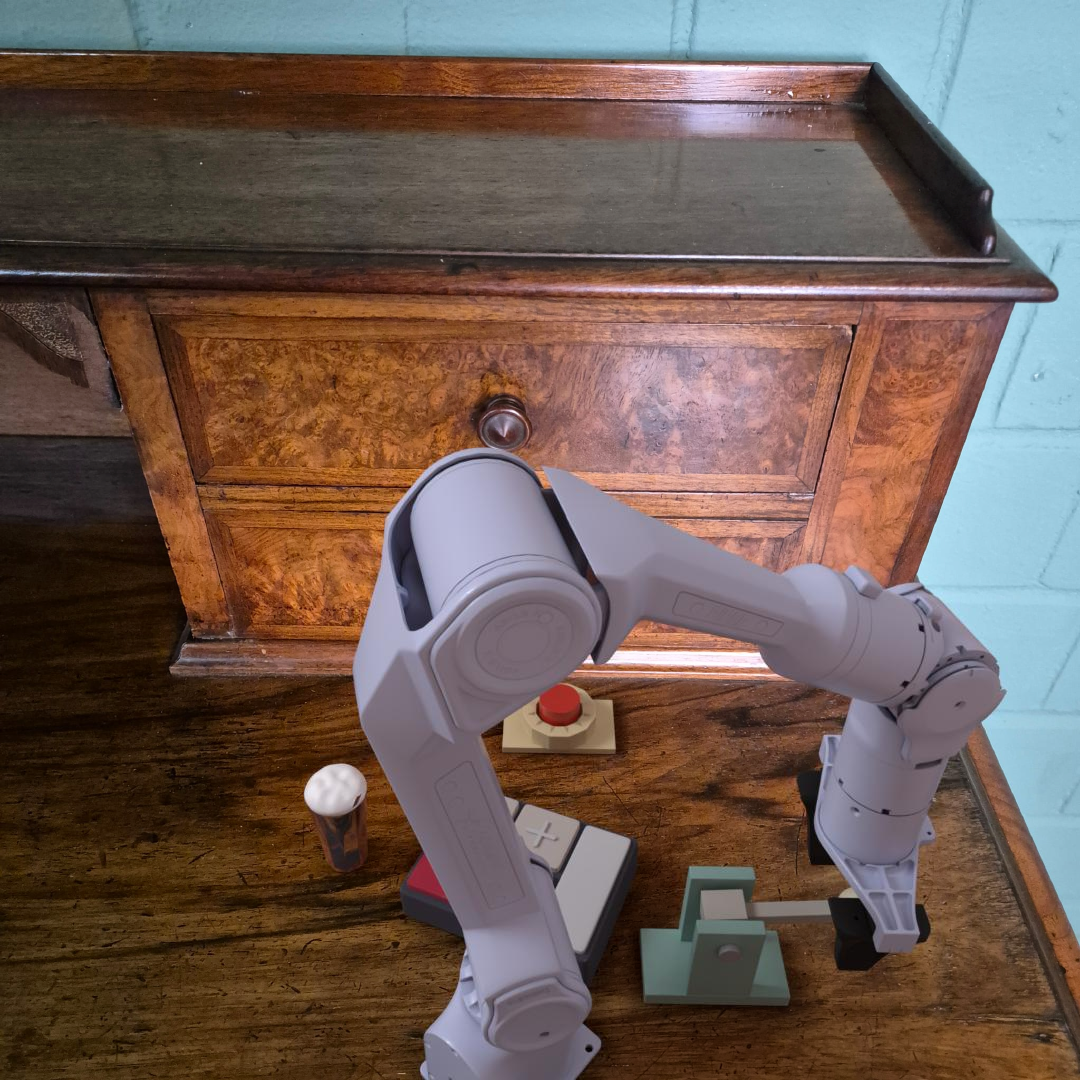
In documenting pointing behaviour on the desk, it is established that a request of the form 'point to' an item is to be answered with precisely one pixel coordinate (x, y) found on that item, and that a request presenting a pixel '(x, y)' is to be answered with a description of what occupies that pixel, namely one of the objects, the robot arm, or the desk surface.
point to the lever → (765, 908)
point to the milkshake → (339, 814)
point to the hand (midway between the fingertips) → (837, 910)
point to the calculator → (578, 878)
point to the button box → (562, 729)
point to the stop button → (559, 705)
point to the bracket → (713, 951)
